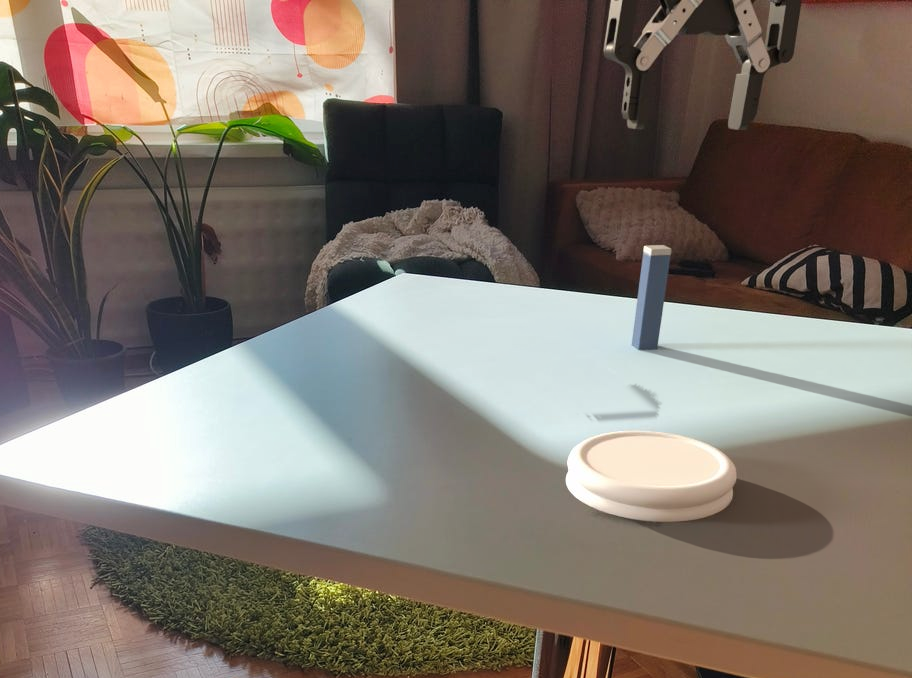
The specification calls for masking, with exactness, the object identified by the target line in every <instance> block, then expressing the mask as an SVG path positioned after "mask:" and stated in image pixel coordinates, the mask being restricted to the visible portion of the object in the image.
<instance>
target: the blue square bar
mask: <svg viewBox="0 0 912 678" xmlns="http://www.w3.org/2000/svg"><path fill="white" fill-rule="evenodd" d="M642 251H643V253H642V260H641V268H640V276H639V283H638V291H637V298H636V299H637V300H636V306H635V314H634V315H635V316H634V323H633V331H632V338H631V346H632V347H634V348H635V349H636V350H638V351H651V350H652V351H653V350H658V347H659V339H660V331H661V327H662V326H661V325H662V318H663V312H664V303H665V298H666V291H667V289H666V288H667V283H668V277H669V269H670V262H671V256H672V255H671V254H672V248H671V247H668V246H666V245H664V244H655V245H652V244H651V245H644V246H643V250H642Z"/></svg>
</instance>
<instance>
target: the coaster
mask: <svg viewBox="0 0 912 678" xmlns="http://www.w3.org/2000/svg"><path fill="white" fill-rule="evenodd" d="M567 470H568V471H567V473H566V477H565V484H566V487H567V489H568V491H569V492H570V493H571V494H572V495H573V496H574V498H575V499H577V500H579V501H580V502H581V503H583V504H586V505H587V506H589V507H591V508H594V509H595V510H597V511H600V512H603V513H606V514H610V515H613V516H617V517H621V518H625V519H629V520H635V521H636V520H637V521H644V522H655V523H656V522H658V523H660V522H661V523H675V522H688V521H694V520H700V519H704V518H707V517H711V516H713V515H715V514H717V513H720V512H721V511H723V510H724V509H726V508H727V507H728V506H729V505H730V504H731V502H732V501H733V498H734V497H733V496H734V491H733V489H734V488H733V487H734V486H735V484H736V482H737V477H738V476H737V469H736V466H735V464H734V462H733V461H732V459H730V458H729V456H728V455H726V454H725V453H724V452H723V451H721V450H720V449H718V448H717V447H714V446H713V445H711V444H708V443H706V442H705V441H704V442H703V441H702V440H701V441H700V440H699V439H695V438H691V437H689V436H684V435H680V434H676V433H675V434H674V433H670V432H669V433H668V432H660V431H653V430H652V431H651V430H620V431H612V432H607V433H601V434H598V435H595V436H591V437H589V438H587V439H584V440H583V441H581V442H580V443H579V444H577V445H575V446H574V447H573V449H572V450H571V451H570V454H569V455H568V458H567Z"/></svg>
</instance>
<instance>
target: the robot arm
mask: <svg viewBox="0 0 912 678" xmlns="http://www.w3.org/2000/svg"><path fill="white" fill-rule="evenodd" d="M767 1H768V2H769V3H770V4H769V11H768V20H767V28H766V34H765V41H764V40H763V37H762V35H763V29H762V27H761V23H760V21H759V18H758V17H757V13H756V11H755V9H754V5H753V4H754V3H755V2H756V0H658V2H659V5H660V6H659V7H658V8H657V10H656V11H655V13H653V15H652V16H651V18H650V19H649V21H648V22H647V23H646V25H645V27H644V28H643V29H642V31H641V32H642V33H641V35H640V36H639V37H638V39H637V40H636V42H635V43H634V45H633V44H632V43H633V37H634V36H633V35H634V30H635V25H636V19H637V18H636V17H637V11H638V4H639V0H610V4H609V11H608V19H607V23H606V32H605V38H604V44H603V56H604V58H606V59H607V60H611V61H613V62H616V63H617V64H619V65H621V66H622V67H623V68H624V69H623V70H624V72H625V76H624V77H625V78H624V86H623V96H622V105H621V116H622V119H623V120H626V126H627V128H628V129H633V130H644V129H645V127H646V124H647V118H648V117H647V116H648V108H649V100H650V94H651V93H650V92H651V85H652V78H653V77H652V76H653V72H652V71H651V72H649V69H650V68H651V66H652V65H653V64H654V62H655V61H656V59H657V58H658V56H659V55H660V54H661V52H662V51H663V50H664V48H665V47H667V45H669V44H670V43H671V42H672V41H673V40H674V39H675V37H676V36H694V35H696V36H697V35H700V34H701V35H704V36H724V38H725V40H726V42H727V44H728V46H730V47H731V48H732V50H733V52H734V55H735V58H736V60H737V62H738V64H739V66H740V69H741V70H740V71H741V72H740V73H736V74H735V81H734V86H733V92H732V98H731V103H730V109H729V114H728V122H727V127H728V129H730V130H735V131H746V130H747V129H748V128H749V125H750V122H754V120H755V118H756V116H757V114H758V110H759V109H758V108H759V104H760V98H761V92H762V88H763V82H764V77H765V75H766V74H767V72H768V71H769V69H771V68H773V67H776V66H779V65H780V64H781V65H782V64H787V63H790V62H791V60H792V59H793V57H794V54H795V47H796V42H797V34H798V29H799V21H800V16H801V9H802V3H803V2H802V1H803V0H767Z"/></svg>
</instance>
